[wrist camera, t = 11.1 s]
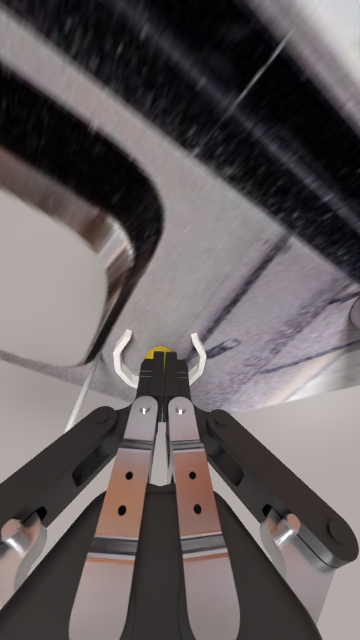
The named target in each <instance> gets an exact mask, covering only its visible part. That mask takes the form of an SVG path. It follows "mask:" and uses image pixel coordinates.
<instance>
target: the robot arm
mask: <svg viewBox="0 0 360 640" xmlns="http://www.w3.org/2000/svg"><path fill="white" fill-rule="evenodd" d="M350 319H351V322H352V323H353V324H354V326H356V327H357V328H358V329H360V298H359V299H358V300H357V301H356V302H355V304H354V306H353V308H352V310H351V314H350ZM164 359H165V366H164ZM162 407H163V421H162V422H166V436H165V438H166V454H167V485H164V486H156V485H153V484H150V481H151V472H152V464H153V456H154V449H155V441H156V435H157V432H158V422H161V420H162ZM116 454H117V455H116ZM115 456H116V458H115V462H114V466H113V469H112V473H111V477H110V480H109V484H108V488H107V490H106V491H105V492H103V493H102V494H100V495H99V496H97V497H96V498H95V499H94V500H93V501H92V502H91V503H90V504H89V505H88V506H87V507H86V508H85V510H84V511H83V512H82V513H81V514H80V516H79V517H78V518H77V519H76V520H75V522H74V523H73V524H72V525H71V526H70V528H69V529H68V530H67V531H66V532H65V533H64V535H63V536H62V537H61V538H60V539H59V541H58V542H57V543H56V544H55V546H54V547H53V548H52V549H51V550H50V551H49V552H48V554H47V555H46V556H45V557H44V558H43V560H42V561H41V562H40V563H39V564H38V566H37V567H36V568H35V569H34V570H33V572H32V573H31V574H30V575H29V576H28V577H27V574H28V572H29V570H30V568H31V566H32V565H33V563H34V562H35V560H36V559H37V558H38V556H39V555H40V553H41V552H42V550H43V548H44V546H45V543H46V539H47V529H46V528H47V527H48V526H49V525H50V524H51V523H52V522H53V521H54V520H55V519H56V517H58V515H59V514H60V513H61V512H62V511H63V510H64V509H65V508H66V507H67V506H68V505H69V504H70V503H71V502H72V501H73V500H74V499H75V498H76V496H77V495H78V494H79V493H80V492H81V491H82V490H83V489H84V488H85V487H86V486H87V485H88V484H89V483H90V482H91V481H92V480H93V478H95V477H96V475H97V474H98V473H99V472H100V471H101V470H102V469H103V468H104V467H105V466H106V465H107V464H108V463H109V462H110V461H111V459H113V458H114V457H115ZM207 461H208V462H209V463H210V465H211V466H212V467H213V468H214V469H215V471H216V472H217V473H218V474H219V475H220V476H221V478H222V479H223V480H224V481H225V482H226V484H227V485H228V486H229V487H230V488H231V490H232V491H233V492H234V493H235V494H236V496H238V498H239V499H240V500H241V501H242V503H243V504H244V505H245V506H246V507H247V509H248V510H249V511H250V512H251V513H252V515H253V516H254V517H255V518H256V519H257V521H258V522H259V523H260V524H261V525H260V536H261V540H262V543H263V545H264V547H265V548H266V550H267V552H268V553H269V555H270V557H271V559H272V561H273V564H274V565H273V564H272V562H271V561H270V560H269V558H268V557H267V556H266V554H265V553H264V552H263V550H262V549H261V548H260V546H259V545H258V544H257V542H256V541H255V540H254V538H253V537H252V536H251V534H250V533H249V532H248V530H247V529H246V528H245V526H244V525H243V524H242V522H241V521H240V520H239V518H238V517H237V516H236V514H235V513H234V511H232V509H231V507H230V506H229V505H228V504H227V502H226V501H225V500H224V499H223V498H222V497H221V496H220V495H219V494H218V493H216V492H215V491H213V487H212V483H211V478H210V473H209V468H208V463H207ZM358 552H359V548H358V543H357V539H356V537H355V535H354V533H353V531H352V529H351V528H350V526H349V525H348V524H347V522H346V521H345V520H344V519H343V518H342V517H341V516H340V515H339V514H337V513H336V512H335V511H334V510H333V509H332V508H331V507H330V506H329V505H327V503H326V502H324V501H323V500H322V499H321V498H320V497H319V496H318V495H317V494H316V493H315V492H314V491H313V490H311V489H310V488H309V487H308V486H307V485H306V484H305V483H304V482H303V481H301V479H299V478H298V477H297V476H296V475H295V474H294V473H293V472H292V471H291V470H290V469H289V468H287V467H286V466H285V465H284V464H283V463H282V462H281V461H280V460H279V459H278V458H277V457H276V456H275V455H273V454H272V453H271V452H270V451H269V450H268V449H267V448H266V447H265V446H264V445H263V444H261V443H260V442H259V441H258V440H257V439H256V438H255V437H254V436H253V435H252V434H251V433H250V432H248V431H247V430H246V429H245V428H244V427H243V426H242V425H241V424H240V423H239V422H238V421H236V420H235V419H234V418H233V417H232V416H231V415H230V414H229V413H228V412H226V411H224V410H221V409H216V410H213V411H211V412H210V413H209V412H206V411H203V410H201V409H199V408H197V407H196V406H195V405H194V404H193V403H192V401H191V396H190V385H189V375H188V366H187V364H186V362H185V361H184V360H177V353H176V352H169V351H166V353H165V351H154V355H153V359H147V358H145V360H144V361H143V362H142V364H141V369H140V375H139V381H138V387H137V394H136V398H135V400H134V402H133V403H132V404H131V405H129V406H128V407H126V408H123V409H120V410H116V411H115V410H114V409H113V408H111V407H108V406H103V407H99V408H97V409H95V410H94V411H92V412H91V413H90V414H89V415H87V416H86V417H85V418H84V419H82V420H81V421H80V422H78V423H77V424H76V425H75V426H73V427H72V428H71V429H69V430H68V431H67V432H66V433H64V434H63V435H62V436H61V437H59V438H58V439H57V440H56V441H54V442H53V443H52V444H51V445H49V446H48V447H47V448H45V449H44V450H43V451H42V452H40V453H39V454H38V455H37V456H35V457H34V458H33V459H31V460H30V461H29V462H28V463H26V464H25V465H24V466H23V467H21V468H20V469H19V470H18V471H16V472H15V473H14V474H13V475H11V476H10V477H9V478H7V479H6V480H5V481H4V482H2V483H1V484H0V640H322V637H321V635H320V633H319V631H318V628H317V627H316V624H317V622H318V618H319V616H320V613H321V610H322V607H323V604H324V601H325V598H326V596H327V592H328V590H329V587H330V584H331V581H332V578H333V575H334V572H335V570H336V569H337V568H339V567H341V566H344V565H346V564H348V563H350V562H352V561H354V560H355V559H356V558H357V556H358ZM26 577H27V579H26Z"/></svg>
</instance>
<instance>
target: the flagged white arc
mask: <svg viewBox="0 0 360 640" xmlns="http://www.w3.org/2000/svg"><path fill="white" fill-rule="evenodd" d="M131 334H132V331H130V330H128V329H126V331H125V332H124V334H123V335H122V337H121V338H120V339H119V341H118V342H117V344H116V346H115V350H114V353H113V354H114V365H115V370H116V372H117V373H118V375H119V376H120V377H121V378H122V379H123V380H124V381H125V382H126V383H127V384H129V386H132V387H134V388H137V387H138V381H139V377H138V376H136V375H133V374H132V372H131V371H130V370H129V369H128V368H127V367H126V365H125V364H124V363H123V360H122V350H123V348H124V347H125V345H126V344H127V343H128V341H129V340H130V338H131ZM191 337H192V342H193V344H194V346H195V348H196V349H197V351H198V359H197V364H196V365H195V366H194V367H193V368H192V369H191V370H190V372H189V373H188V375H189V385H191V384H192V383H193V382H194V381H195V380H196V379H197V378H198V377H200V376H201V375H202V373H203V370H204V365H205V361H206V353H205V348H204V346H203V344H202V342H201V340H200V338H199V336H198V335H197V333H194V334H191ZM101 355H102V353H101V352H97V355H96V357H95V360H94V362H93V364H92V367H91V369H90V372H89V374H88V376H87V379H86V381H85V384H84V386H83V389H82V391H81V393H80V396H79V398H78V400H77V403H76V405H75V408H74V410H73V412H72V415H71V417H70V420H69V422H68V424H67V427H66V429H65V431H64V433H66V432H67V431H68V430H69V429H71V428H72V427H73V426H74V424H75V422H76V419H77V417H78V414H79V412H80V409H81V406H82V404H83V401H84V399H85V396H86V393H87V391H88V388H89V386H90V383H91V381H92V378H93V375H94V373H95V370H96V368H97V365H98V363H99V360H100V357H101Z"/></svg>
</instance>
